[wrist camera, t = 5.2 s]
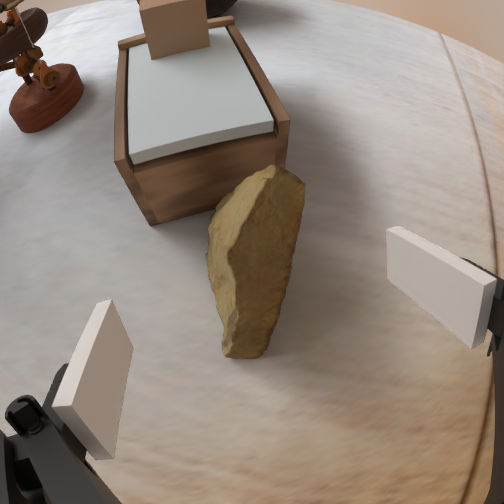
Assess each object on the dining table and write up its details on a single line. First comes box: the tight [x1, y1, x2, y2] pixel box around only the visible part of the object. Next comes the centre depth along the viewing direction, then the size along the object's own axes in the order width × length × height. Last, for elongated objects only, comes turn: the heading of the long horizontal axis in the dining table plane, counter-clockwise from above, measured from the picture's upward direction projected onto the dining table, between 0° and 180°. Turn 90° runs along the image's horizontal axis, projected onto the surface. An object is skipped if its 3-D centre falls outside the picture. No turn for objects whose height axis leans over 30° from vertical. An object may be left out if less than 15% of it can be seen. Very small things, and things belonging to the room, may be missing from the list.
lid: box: [128, 0, 274, 164], centre depth 19 cm, size 9×15×6 cm, turn 15°
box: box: [114, 16, 290, 226], centre depth 25 cm, size 11×16×9 cm
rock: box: [206, 165, 305, 359], centre depth 20 cm, size 11×9×10 cm
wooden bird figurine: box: [0, 0, 84, 133], centre depth 24 cm, size 15×11×20 cm
